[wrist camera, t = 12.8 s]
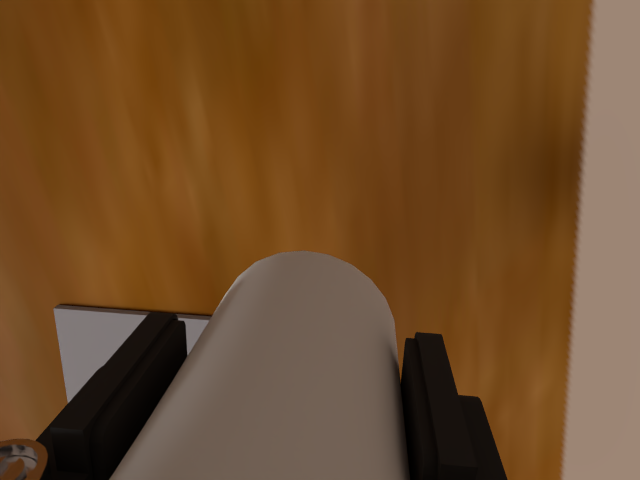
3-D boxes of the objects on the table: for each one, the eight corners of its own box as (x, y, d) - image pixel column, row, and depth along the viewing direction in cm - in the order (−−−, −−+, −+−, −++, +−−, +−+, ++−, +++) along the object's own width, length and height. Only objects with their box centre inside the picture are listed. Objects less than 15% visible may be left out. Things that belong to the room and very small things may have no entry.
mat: (57, 304, 27) (53, 308, 26) (364, 328, 26) (364, 332, 25) (98, 579, 34) (95, 585, 33) (343, 607, 32) (343, 614, 32)
